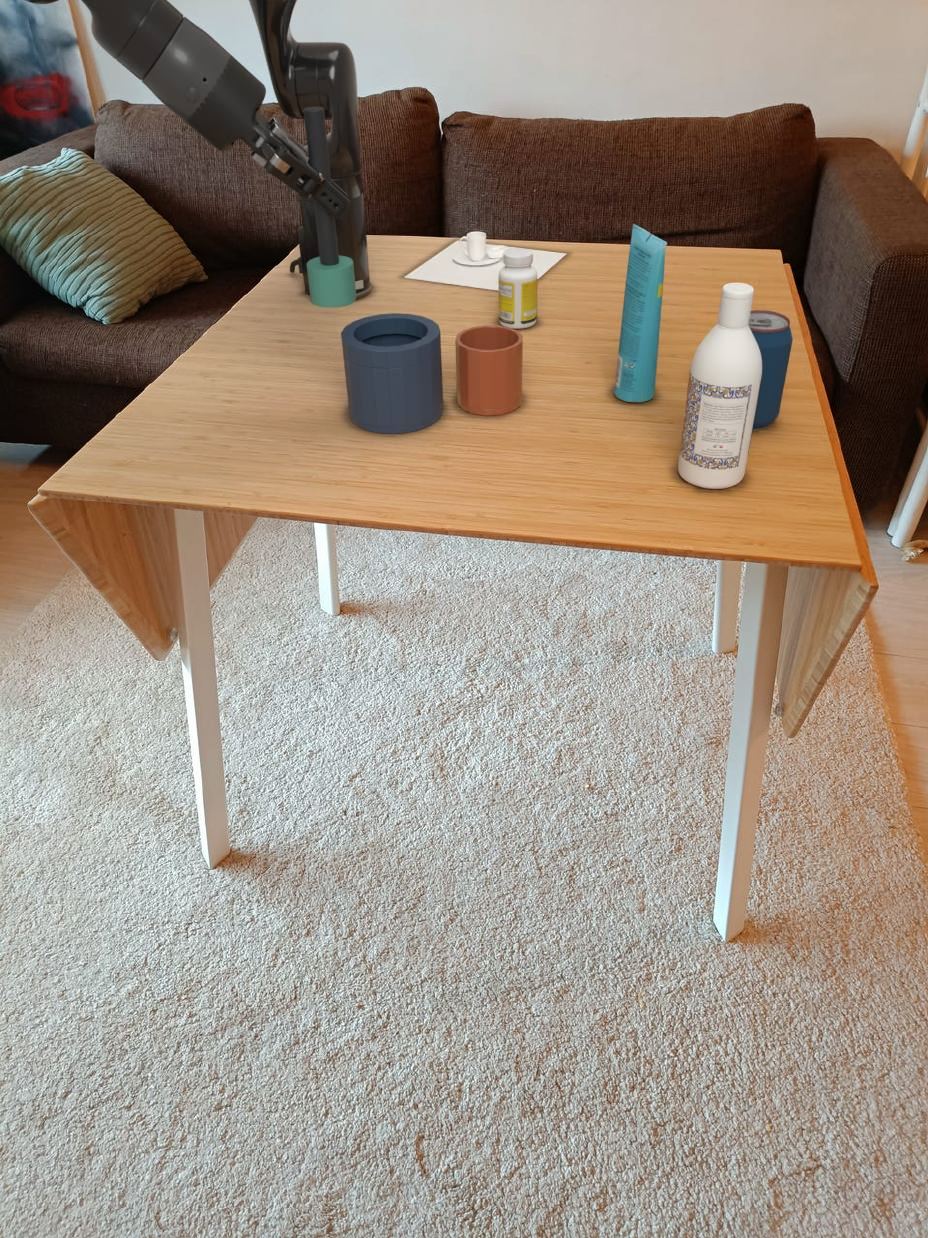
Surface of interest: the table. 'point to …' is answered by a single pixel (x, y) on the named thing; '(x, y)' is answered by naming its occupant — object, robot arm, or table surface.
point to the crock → (489, 369)
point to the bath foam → (722, 396)
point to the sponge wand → (326, 229)
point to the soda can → (770, 362)
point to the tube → (641, 318)
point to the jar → (393, 372)
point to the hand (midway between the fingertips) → (344, 208)
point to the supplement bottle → (517, 289)
